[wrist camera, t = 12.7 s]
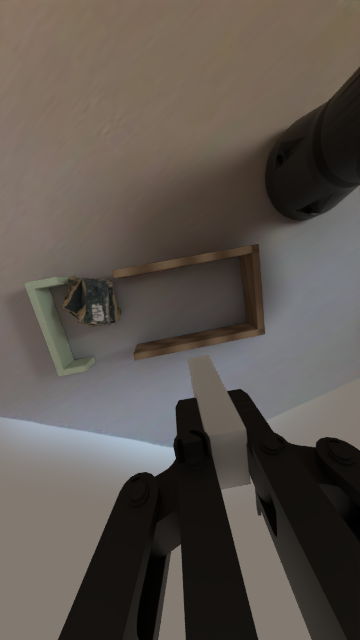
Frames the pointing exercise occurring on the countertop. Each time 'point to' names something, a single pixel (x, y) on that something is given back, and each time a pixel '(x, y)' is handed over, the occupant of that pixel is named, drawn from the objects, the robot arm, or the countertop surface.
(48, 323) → the bracket
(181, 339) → the cubby
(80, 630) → the robot arm
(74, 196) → the countertop surface
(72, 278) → the rock
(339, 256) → the countertop surface
